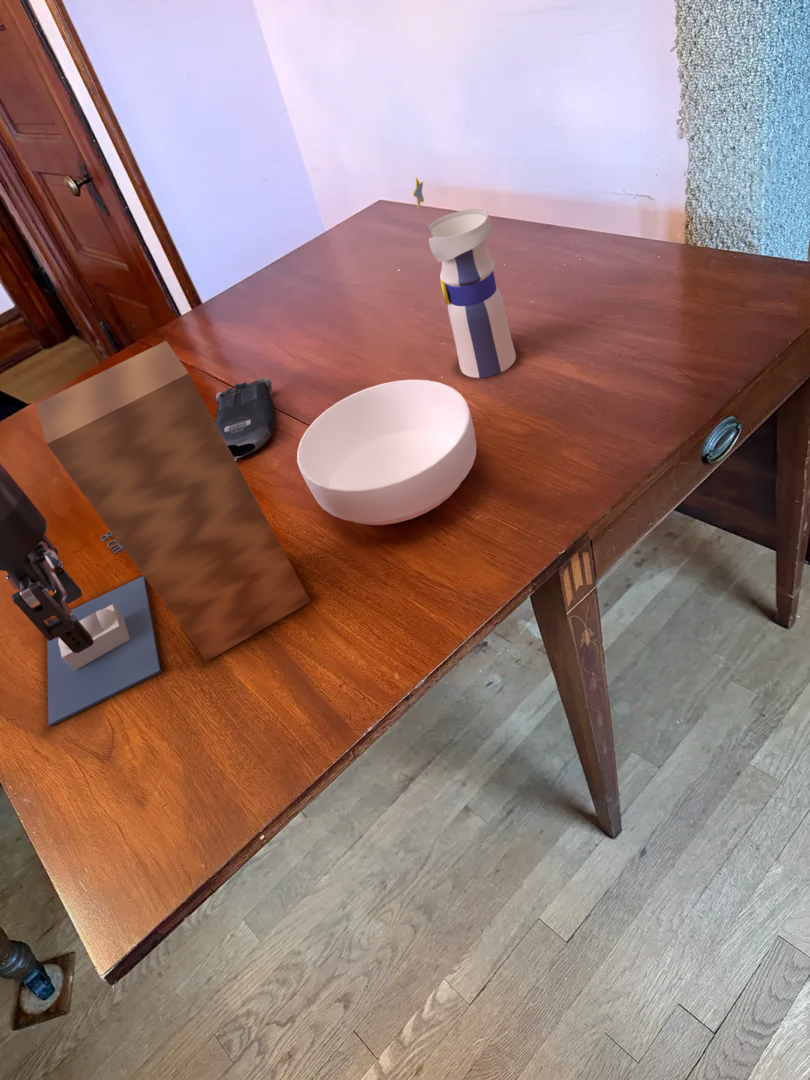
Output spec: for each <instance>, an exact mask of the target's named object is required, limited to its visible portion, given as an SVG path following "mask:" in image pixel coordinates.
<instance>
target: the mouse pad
mask: <svg viewBox="0 0 810 1080" xmlns="http://www.w3.org/2000/svg"><path fill="white" fill-rule="evenodd" d="M112 604H113V605H114V606H115V607H116V609H117V610H118V611H119V612H120V614H121V615H122V616H123V617H124V620H125V624H126V627H127V630H128V633H129V636H130V640H128V641H127V642H125V643H123V644H121V645H120V646H118V647H116V648H114V649H112V650H111V651H109V652H107V653H105V654H104V655H102V656H100V657H98V658H96V659H95V660H93V661H91V662H89V663H88V664H86V665H84V666H82V667H80V668H79V669H77V670H75V671H74V670H73V669H72V668H71V667H70V666H69V665H68V664H67V663H66V662H65V661H64V660H63V659H62V656H61V651H60V647H59V643H58V638H57V639H56V638H55V639H53V640H51V641H49V640H48V639H46V645H47V648H46V649H47V651H46V653H47V654H46V655H47V715H48V716H47V717H48V720H47V721H48V722H47V725H48V726H49V727H53V726H55V725H57V724H59V723H62V722H63V721H65V720H67V719H69V718H72V717H73V716H76V715H77V714H80V713H82V712H84V711H85V710H86V711H87V710H88V709H90V708H92V707H93V706H96V705H98V704H100V703H102V702H104V701H107V700H108V699H110V698H112V697H114V696H117V695H118V694H121V693H122V692H124V691H127V690H129V689H130V688H133V687H134V686H137V685H138V684H141V683H143V682H145V681H147V680H149V679H151V678H153V677H156V676H157V675H160V674H161V673H162V668H161V661H160V655H159V650H158V644H157V638H156V632H155V628H154V620H153V616H152V611H151V605H150V604H151V603H150V599H149V593H148V588H147V580H146V578H145V577H144V576H143V575H142V576H140V577H138V578H136V579H134V580H132V581H129V582H127V583H125V584H123V585H120V586H119V587H117V588H114V589H113V590H110V591H108V592H106V593H103V594H101V595H100V596H98V597H95V598H93V599H91V600H89V601H87V602H84V603H83V604H80V605H79V606H77V607H74V608H72V609H70V610H71V612H72V613H73V614H74V615H75V617H76V618H77V620H78V621H80V620H82V619H84V618H85V617H87V616H89V615H91V614H93V613H95V612H96V611H99V610H102V609H104V608H106V607H108V606H110V605H112ZM52 619H53V618H51V620H52Z"/></svg>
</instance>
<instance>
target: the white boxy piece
mask: <svg viewBox="0 0 810 1080" xmlns="http://www.w3.org/2000/svg"><path fill="white" fill-rule="evenodd" d="M79 622H80V623H81V624H82V625H83V627H84V628H85V629H86V630H87V631H88V632H89V633H90V635H91V636H92V637H93V641H94V643H93V645H92V646H90V647H88V648H86V649H85V650H83V651H81V652H79V653H73V652H72V651H71V650H70V649H69V647H68V646H67V645H66V644H65V643H64V642H63V641H62V640H61V639H60V638H59V637H56V639H57V638H58V643H59V647H60V651H61V656H62V659H63V660H64V661H65V662H66V663H67V664H68V665H69V666H70V667H71V668H72V669H73V670H74V671H75V670H77V669H79V668H80V667H82V666H84V665H86V664H88V663H89V662H91V661H93V660H95V659H96V658H98V657H100V656H102V655H104V654H105V653H107V652H109V651H111V650H112V649H114V648H116V647H118V646H120V645H121V644H123V643H125V642H127V641H128V640H130V636H129V633H128V630H127V627H126V624H125V620H124V617H123V616H122V615H121V614H120V612H119V611H118V610H117V609H116V607H115V606H114V605H113V604H112V605H110V606H108V607H106V608H104V609H102V610H99V611H96V612H95V613H93V614H91V615H89V616H87V617H85V618H84V619H82V620H80V621H79Z"/></svg>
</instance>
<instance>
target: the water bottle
mask: <svg viewBox="0 0 810 1080" xmlns="http://www.w3.org/2000/svg"><path fill="white" fill-rule="evenodd" d="M414 178H415V181H414V182H415V189H414V190H413V193H412V195H413V197H415V198H416V204H417V210H419V209H420V206H421V203H424V202H425V198H424V195H423V188H424V187H423V186H424V182H423V181H421V182H419V179H418V177H417V176H415V177H414ZM428 231H429V233H430V234H431V237H429V238H428V245H429V247H430V248H429V249H430V251H431V254H432V256H433V257H434V258H435V260H436V261H437V262H438V263H440V262H441V271H440V274H439V282H440V287H441V293H442V296H443V301H444V303H445V305H447V312H448V317H449V321H450V325H451V330H452V335H453V339H454V343H455V349H456V353H457V359H458V363H459V369H460V371H461V373H462V374H463V375H465V376H467V377H469V378H475V379H482V378H483V379H484V378H488V377H494V376H497V375H498V374H499V375H500V374H501V373H503V372H505V371H507V370H508V369H509V368H510V367H512V366H513V364H514V363H515V361H516V359H517V355H516V350H515V346H514V342H513V339H512V335H511V331H510V327H509V322H508V318H507V313H506V312H507V311H506V307H505V303H504V300H503V296H502V293H501V291H500V289H499V288H498V286H497V284H496V278H495V272H494V270H495V267H496V261H495V259H494V258H493V257H492V256H491V255H490V253H489V251H488V248H487V240H488V239H489V237H490V236H491V235H492V234H493V232H494V227H493V223H492V220H491V217H490V216H489V213H488V212H487V211H486V210H483V209H479V208H470V209H463V210H459V211H455V212H452V213H448V214H446V215H444V216H442V217H438V218H437V219H436V220H434V221H432V222H431V223H430V224H429V225H428Z"/></svg>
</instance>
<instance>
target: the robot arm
mask: <svg viewBox="0 0 810 1080" xmlns="http://www.w3.org/2000/svg"><path fill="white" fill-rule="evenodd" d="M47 531H48V522H47V519H46V517H45V516H44V515H43V514H42V513H41V512H40V510H39V509H38V508H37V507H36V505H35V504H34V502H33V501H32V500H31V499H30V498H29V496H28V495H27V494H26V493H25V492H24V491H23V489H22V487H20V485H19V484H18V483H17V481H16V480H15V479H14V477H12V475H11V474H10V473H9V472H8V470H7V469H6V468H5V467H4V466H3V465H2V463H0V571H1V572H6V573H7V574H6V575H5V578H6V580H7V582H8V584H9V586H10V587H11V588H12V589H13V590H14V591H16V592H15V593H13V594H12V595H11V598H12V603H14V604H15V605H16V606H17V607H18V608H19V610H20V611H21V612H22V613H23V614H24V615H25V616H26V617H27V618H28V619H29V621H31V623H32V624H33V625H34V626H35V627H36V629H38V631H39V632H40V633H41V634H42V635H43V637H44V638H45V639H46V640H47V639H48V640H49V641H51V640H53V639H55V638H56V637H59V638H60V639H61V640H62V641H63V642H64V643H65V644H66V645H67V646H68V647H69V649H70V650H71V651H72V652H73V653H79V652H81V651H83V650H85V649H86V648H88V647H90V646H92V645H93V643H94V641H93V637H92V636H91V635H90V633H89V632H88V631H87V630H86V629H85V628H84V627H83V625H82V624H81V623H80V622H79V621H78V620H77V618H76V617H75V615H74V614H73V613H72V612H71V610H72V609H71V608H70V607H69V604H71V603H73V602H74V601H76V600H78V599H80V598H81V597H82V595H83V594H82V593H83V592H82V589H81V587H79V585H78V584H77V583H76V581H74V579H73V578H72V577H71V576H70V575H69V573H68V572H67V570H65V566H64V562H63V561H62V560H61V559H60V558H59V557H58V556H59V550H58V548H57V547H55V546H54V545H53V543H52V542H51V541H50V540H49V539H48V537H47V536H46V534H47ZM50 591H51V592H52V593H53V594H52V595H51V594H50V593H49V592H50ZM52 617H53V618H52ZM51 619H52V620H51Z"/></svg>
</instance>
